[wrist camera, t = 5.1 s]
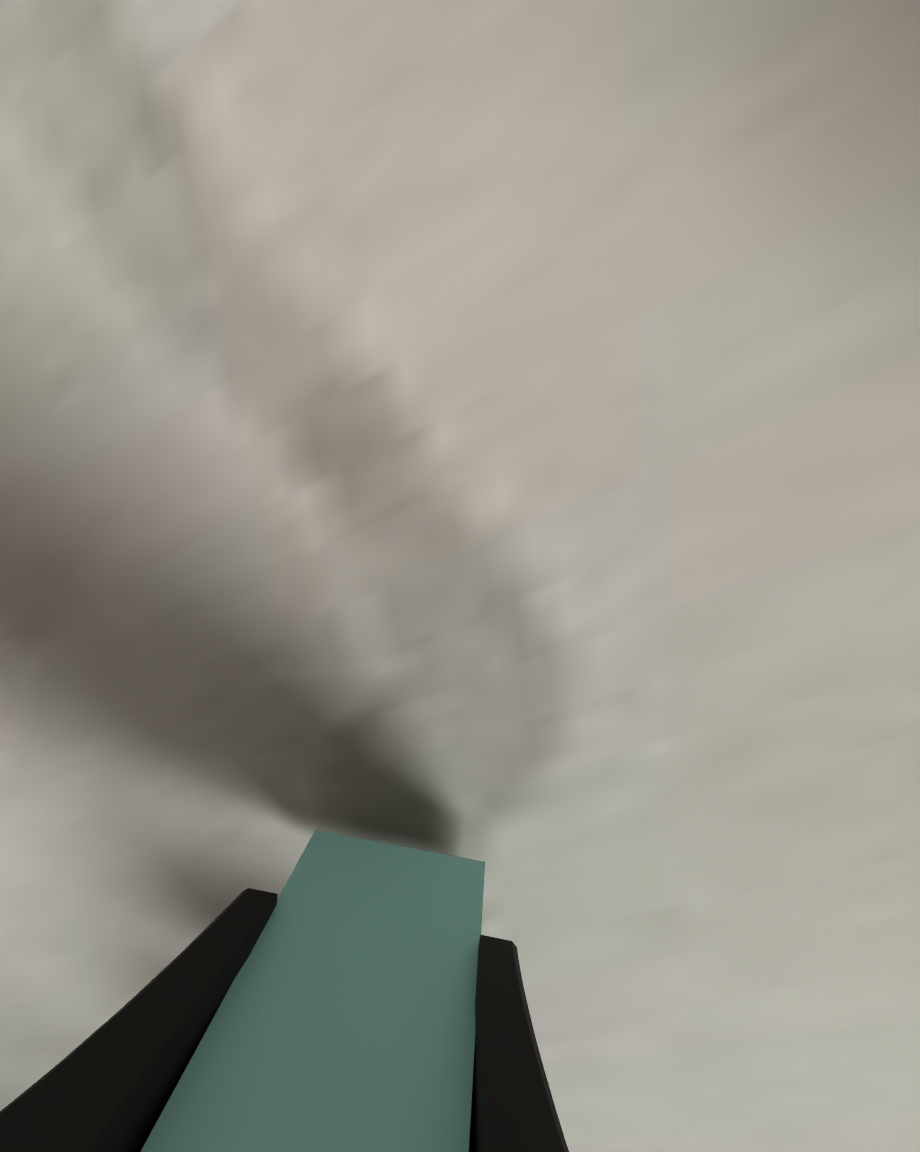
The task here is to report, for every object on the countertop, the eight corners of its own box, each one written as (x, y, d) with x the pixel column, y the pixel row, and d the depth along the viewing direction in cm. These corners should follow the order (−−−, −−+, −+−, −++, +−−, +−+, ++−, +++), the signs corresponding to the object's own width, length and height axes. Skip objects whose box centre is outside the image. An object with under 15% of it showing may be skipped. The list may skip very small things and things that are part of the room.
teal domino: (476, 912, 11) (427, 1635, 4) (311, 879, 11) (7, 1506, 4) (484, 862, 11) (445, 1552, 4) (315, 830, 11) (-6, 1420, 4)
